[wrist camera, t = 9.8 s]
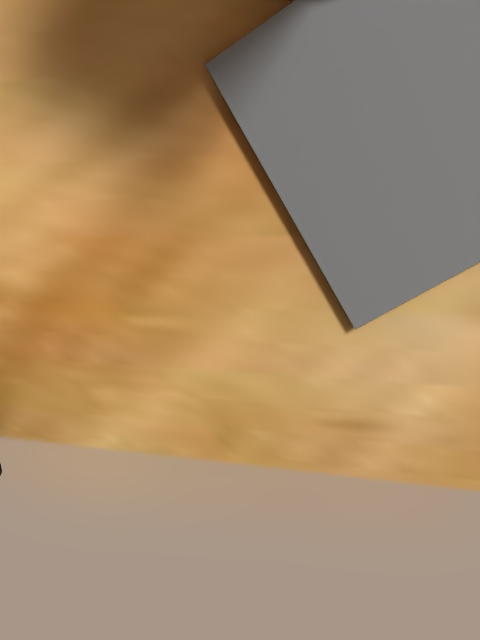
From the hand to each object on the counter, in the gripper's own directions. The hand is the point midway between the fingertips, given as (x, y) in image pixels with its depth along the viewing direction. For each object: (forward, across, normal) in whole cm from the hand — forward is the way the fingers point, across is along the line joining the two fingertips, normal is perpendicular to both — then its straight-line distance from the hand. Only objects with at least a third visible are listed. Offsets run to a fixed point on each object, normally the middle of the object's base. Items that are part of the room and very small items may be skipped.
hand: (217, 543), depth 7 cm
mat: (+13, -7, -8) cm, 17 cm away
